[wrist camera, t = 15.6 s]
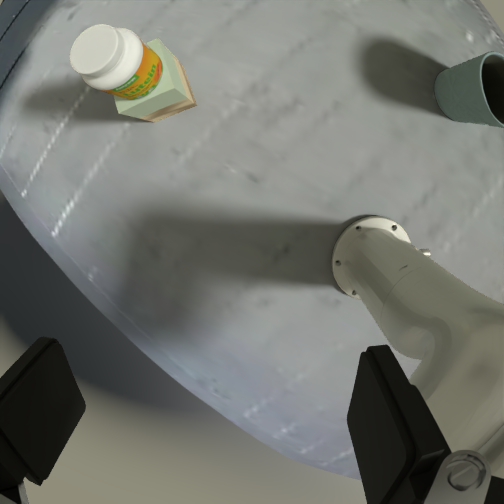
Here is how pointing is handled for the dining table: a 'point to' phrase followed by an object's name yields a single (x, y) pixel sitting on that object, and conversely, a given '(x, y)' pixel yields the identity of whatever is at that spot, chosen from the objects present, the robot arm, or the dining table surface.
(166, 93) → the block top
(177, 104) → the block bottom
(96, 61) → the supplement bottle
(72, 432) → the robot arm
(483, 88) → the green cup
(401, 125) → the dining table surface
